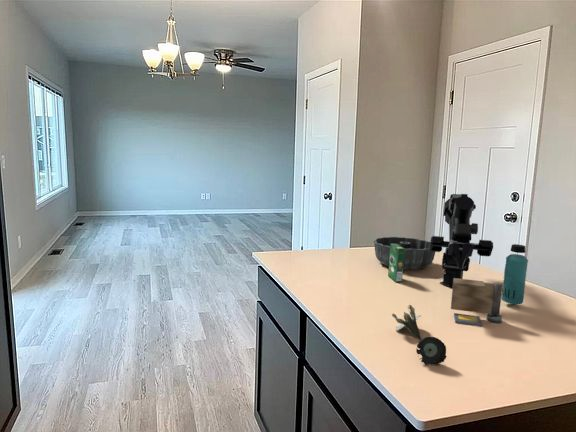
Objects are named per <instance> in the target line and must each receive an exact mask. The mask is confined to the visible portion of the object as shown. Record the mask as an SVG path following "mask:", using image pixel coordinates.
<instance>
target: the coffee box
mask: <svg viewBox="0 0 576 432" xmlns="http://www.w3.org/2000/svg"><path fill="white" fill-rule="evenodd" d="M404 253H405V249H404V248H403V247H401V246H400V245H398V244H394V243H391V244H390V257H389V267H388V274H387V276H388V277H389V278H390V279H391V280H392V281H394V282H395V283H402V282H403V275H404V269H403V264H404Z"/></svg>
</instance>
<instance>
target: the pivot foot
mask: <svg viewBox="0 0 576 432" xmlns="http://www.w3.org/2000/svg"><path fill="white" fill-rule="evenodd" d="M485 319H486V321H487V322H489V323H491V324H501V323H502V322H503V321H502V320H503V315H502V314H500V313H499V315H498V316H496V315H492V314H486V318H485Z"/></svg>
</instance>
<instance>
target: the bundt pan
mask: <svg viewBox="0 0 576 432" xmlns="http://www.w3.org/2000/svg"><path fill="white" fill-rule="evenodd" d="M372 240H373V241H372V243H374V254H375V258H376V259H377V260H378V262H379V263H381V264H382V265H385V266H386V267H388V268H389V257H390V244H391V243H394V244H398V245H400V246H401V247H403V248H404V249H405V253H404V264H403V271H406V269H409V270H423V269H424V268H427V267H429V266H431V265H432V263H433V261H434V259H435V256H436V252H433V251H430V242H431V241H428V240H426V239H420V238H414V237H406V236H382V237H376V238H375V239H372Z"/></svg>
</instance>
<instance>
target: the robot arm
mask: <svg viewBox="0 0 576 432" xmlns="http://www.w3.org/2000/svg"><path fill="white" fill-rule="evenodd" d="M476 207H477V206H476V204H475V201H474V200H473V199H472V198H471V197H469V195H468V193H461V194H460V193H459V194H458V193H452V194H450V195H449V198H448V199H447V200H445V202H444V204H443V215H442V216H443V217H444V222H446V223H447V224H448V240H446V241H445V240H444V238H445V237H444V236H441V235H440V236H438V235H432V236H431V237H430V241H429V242H430V251H433V252H435V253H440V252H442V251H443V248H445V252H443V253H442V259H441V261H442V262H441V269H442V270H444V272H443V276H442V277H443V279H442V281H440V282H439V284H440V285H444V286H445V287H448V288H451V289H453V279H454V278H458V279H464V278H463V276H464V275H463V274H464V272H468V271H469V268H470V262H471V257H472V255H473V252H474V251H476V253H477V255H478V256H480V257H491V255H492V253H493V249H494V242H493V241H492V240H490V239H489V240H487V239H479V241H478V242H477V243H475V242H471V241H472V235H477V234H478V233H479V224H478V223H474V222H471V221H470V220H471V218H472V214H473V211H474V210H476V209H477V208H476ZM470 223H471V224H470Z"/></svg>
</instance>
